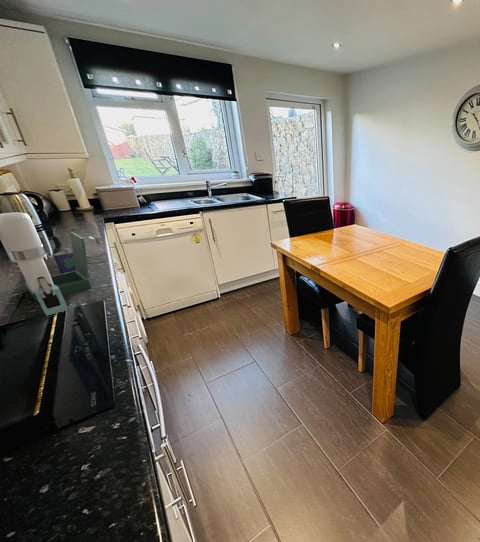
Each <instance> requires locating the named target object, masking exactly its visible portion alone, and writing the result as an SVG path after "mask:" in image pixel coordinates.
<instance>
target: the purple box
mask: <svg viewBox="0 0 480 542" xmlns="http://www.w3.org/2000/svg"><path fill="white" fill-rule="evenodd" d="M53 259H54V261H55V263H56V266H57V268H58V271H59V272H60V274H63V273H67V272H72V271H76V269H75V264H74V257H73V250H70V248H69V247H67V248H64V251H60V252H57V253H55V254H53ZM87 265H88V263H87ZM88 266H89V265H88Z"/></svg>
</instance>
